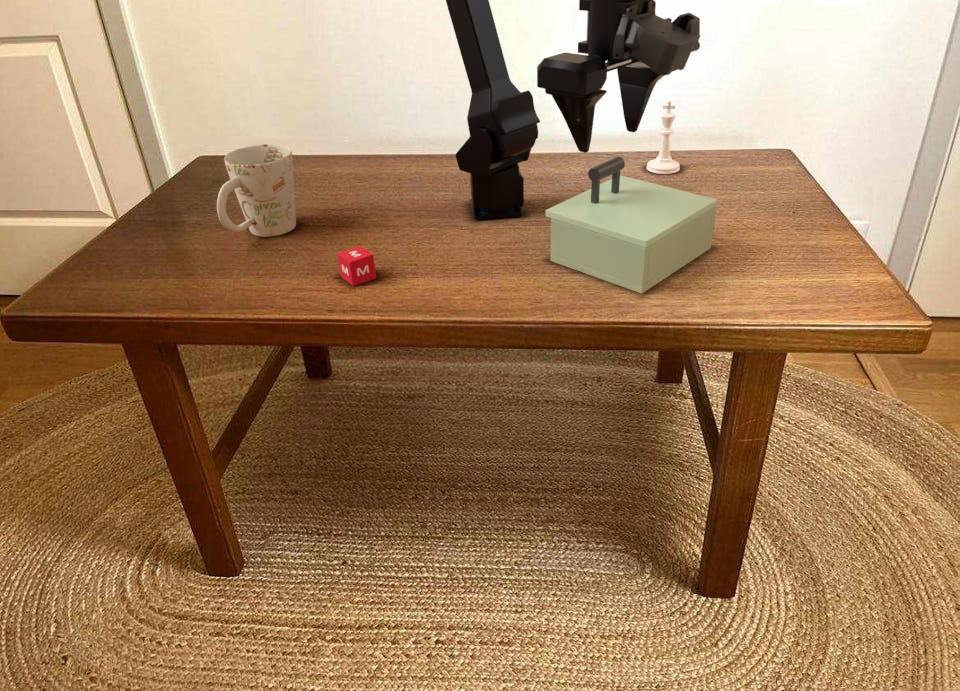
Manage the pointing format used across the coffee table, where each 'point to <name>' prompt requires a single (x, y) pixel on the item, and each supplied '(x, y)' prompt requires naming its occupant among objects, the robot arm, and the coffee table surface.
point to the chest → (630, 252)
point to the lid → (630, 207)
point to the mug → (260, 189)
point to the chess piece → (665, 146)
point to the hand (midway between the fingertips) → (608, 141)
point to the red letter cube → (356, 265)
